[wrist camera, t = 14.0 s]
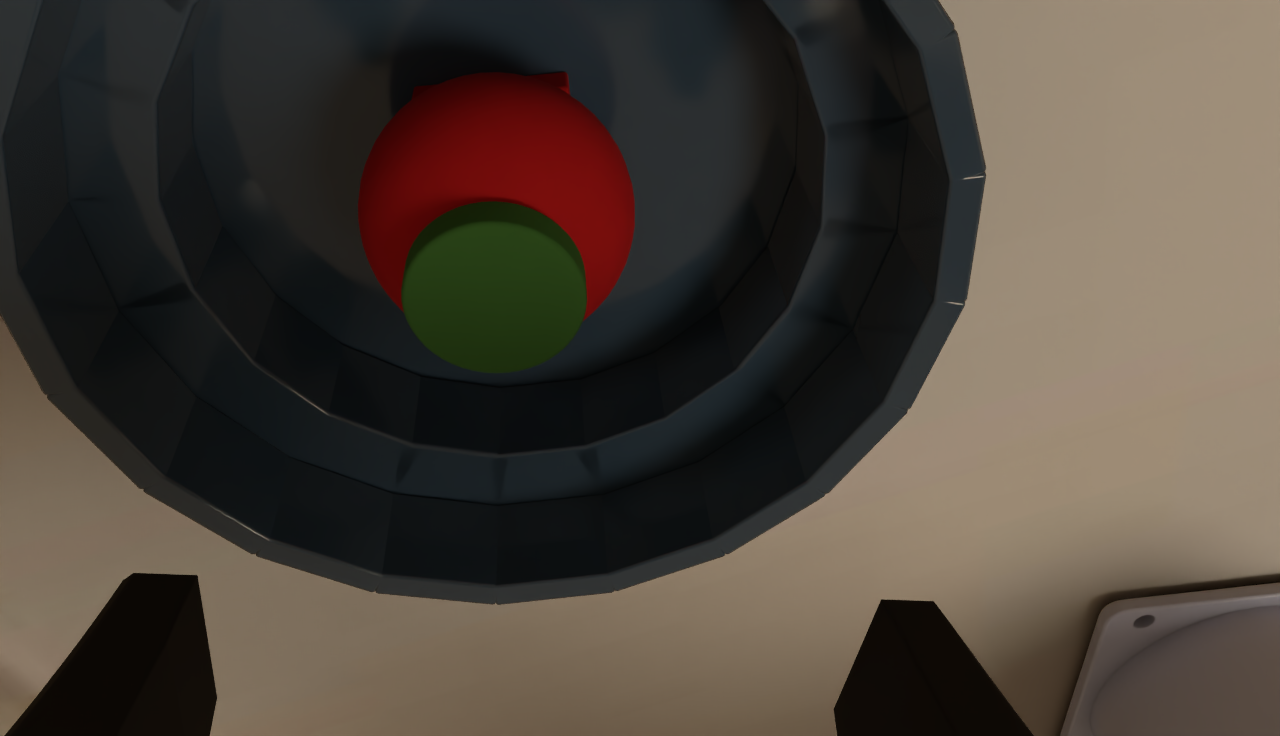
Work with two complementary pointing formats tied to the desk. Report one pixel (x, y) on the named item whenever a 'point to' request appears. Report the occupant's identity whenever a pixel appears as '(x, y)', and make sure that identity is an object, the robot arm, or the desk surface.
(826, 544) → the desk surface
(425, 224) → the strawberry
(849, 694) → the robot arm
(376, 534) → the bowl
